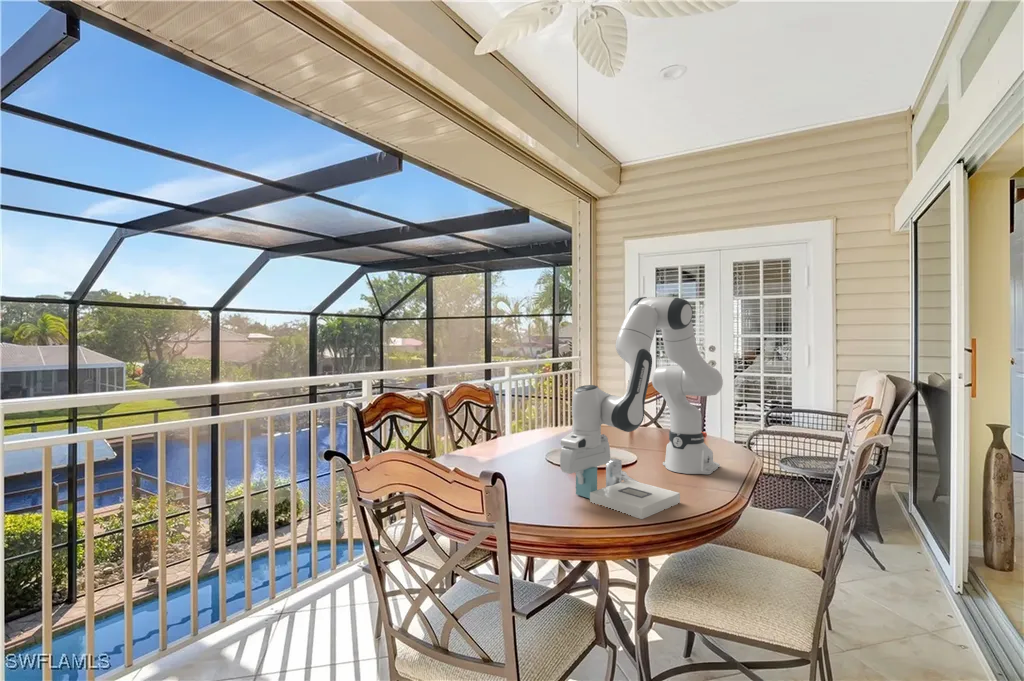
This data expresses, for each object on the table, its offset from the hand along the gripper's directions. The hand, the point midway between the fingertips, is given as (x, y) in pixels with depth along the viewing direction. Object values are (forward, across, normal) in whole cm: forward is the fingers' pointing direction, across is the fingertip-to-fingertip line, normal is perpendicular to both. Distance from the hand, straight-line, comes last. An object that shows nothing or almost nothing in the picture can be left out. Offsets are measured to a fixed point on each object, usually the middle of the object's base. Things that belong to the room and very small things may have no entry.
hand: (586, 482), depth 149 cm
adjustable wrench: (+5, -22, +1) cm, 23 cm away
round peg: (+5, -14, 0) cm, 15 cm away
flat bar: (+4, 0, 0) cm, 4 cm away
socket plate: (+4, -7, +13) cm, 15 cm away
